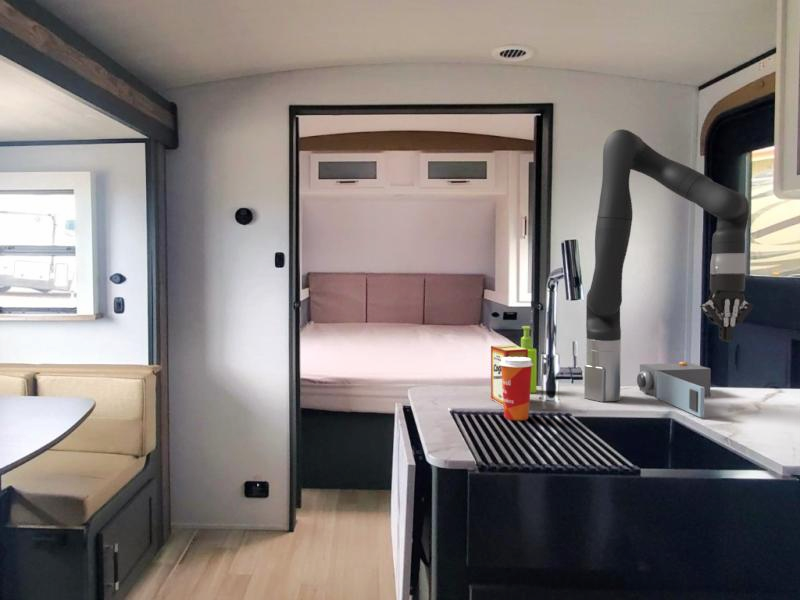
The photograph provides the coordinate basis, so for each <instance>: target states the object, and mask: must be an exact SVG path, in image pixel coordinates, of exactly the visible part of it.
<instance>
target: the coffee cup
mask: <svg viewBox="0 0 800 600" xmlns="http://www.w3.org/2000/svg"><path fill="white" fill-rule="evenodd" d="M500 365H501V372H502V389H503V405H504V406H503V415H504V417H503V418H504V419H506V420H509V421H526V420H528V419H529V414H530V403H531V402H530V401H531V400H530V399H531V393H530V386H531V369H532V366H533V363H532V362H531V359H530V358H526V357H504V358H502V359H501V363H500Z"/></svg>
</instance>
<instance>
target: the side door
mask: <svg viewBox="0 0 800 600" xmlns="http://www.w3.org/2000/svg"><path fill="white" fill-rule="evenodd" d="M704 395H705V388H704V387H701V386H699V385H696V384H693V383H690V382H687V381H685V380H682V379H679V378H676V377H673V376H671V375H668V374H665V373H662V372H660V371H655V396H654V398H656V399H659V400H661V401H662V402H666V403H668V404H670V405H673V406H674V407H677V408H678V409H681V410H683V411H685V412H687V413H690V414H692V415H694V416H696V417H699V418H705V396H704Z"/></svg>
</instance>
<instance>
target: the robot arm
mask: <svg viewBox="0 0 800 600" xmlns="http://www.w3.org/2000/svg"><path fill="white" fill-rule="evenodd" d="M602 151H603V152H602V180H601V181H602V182H601V188H600V189H601V190H600V195H599V202H598V203H599V205H598V209H597V215H596V216H597V217H596V223H595V233H594V235H595V236H594V257H595V258H594V259H595V260H594V261H595V262H594V270H593V271H594V272H593V274H592V279H591V280H592V281H591V285H590V287H589V289H588V291H587V294H586V305H585V306H586V308H585V309H586V312H585V313H586V319H585V320H586V325H585V326H586V350H585V351H586V355H585V357H586V363H585V365H584V395H583V397H584V399H588V400H592V401H598V402H603V403H605V402H615V401H620V400H621V357H622V356H621V352H622V351H621V348H622V346H621V345H622V342H621V341H622V340H621V339H622V329H621V327H622V326H621V306H622V301H623V292H622V291H623V286H622V285H623V272H624V271H623V269H624V262H625V260H626V255H627V253H628V247H629V243H630V236H631V230H632V225H633V223H632V222H633V203H632V197H631V196H632V195H631V190H630V176H631V175H630V174H631V171H635V172H638V173H641V174H643V175H645V176H647V177H649V178H651V179H653V180H655V181H656V182H658V183H659V184H661V185H662V186H664V187H665V188H666V189H668V190H669V191H671V192H672V193H675V194H676V195H678V196H680V197H682V198H684V199H685V200H687V201H690V202H691V203H694V204H696V205H697V206H698V207H700V208H702V209H703V210H704V211H706V212H707V213H709V214H711V215H713V216H714V217H716V218H717V221H716V230H715V231H714V233H713V234H712V238H711V240H712V241H711V259H710V265H709V267H710V268H709V269H710V270H709V271H710V272H709V290H710V294H709V297H708V301H706V302H705V303H701V304H700V309H701V310H702V312H703V313H704V314H705V316H706V317H707V319H708V320H709V321H710V323H711V324H714V325H718V339H719V340H720V341H721V342H727V343H729V342H732V340H733V339H734V327H735V326H736V325H740V324H742V323H743V321H744V320H745V318H747V316H748V315H749V313H750V312H751V311H752V309H754V304H753V303H749V302H747V301H746V298H745V295H744V291H745V290H746V264H747V263H746V257H745V256H746V255H745V250H746V235H745V234H746V231H747V224H748V219H749V213H750V209H749V208H750V206H749V201H748V199H747V197H746V196H745V195H744V194H743V193H740V192H738V191H736V190H733V189H731V188H728V187H726V186H724V185H721V184H720V183H718V182H715V181H713V179H711V178H710V177H708V176H707V175H705V174H703V173H701V172H699V171H697V170H695V169H694V168H691V167H690V166H687V165H685V164H682V163H680V162H677V161H675V160H673V159H670V158H668V157H666V156H664V155H662V154H661V153H659V152H658V151H656V150H655V149H653V148H652V147H651V146H650V145H648V144H647V143H646V142H645V141H644V140H643V139H642V138H641V137H640V136H639V135H637V134H635V133H634V132H632V131H630V130H627V129H621V128H620V129H617V130H615V131H612V133H610V134H609V135H608V137H607V138H606V140H605V142H604V144H603V150H602Z"/></svg>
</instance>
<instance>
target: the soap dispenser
mask: <svg viewBox="0 0 800 600" xmlns="http://www.w3.org/2000/svg"><path fill="white" fill-rule="evenodd" d="M521 328H522V329H523V336H522V337H520V347H521V348H525V349H528V358H530V359H531V362H532V363H533V366H532V369H531V386H530V394H535V393H537V356H538V355H537V350H538V349H537V348H535V347H533V337H531V336H530V330H531V327H530V325H523V326H521Z"/></svg>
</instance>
